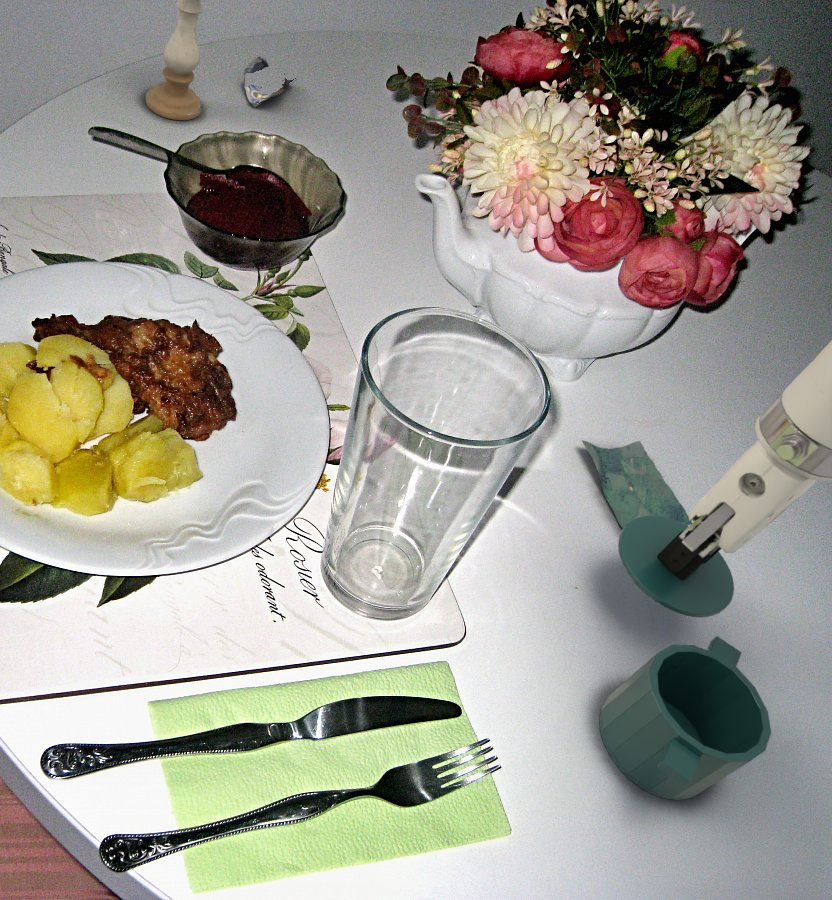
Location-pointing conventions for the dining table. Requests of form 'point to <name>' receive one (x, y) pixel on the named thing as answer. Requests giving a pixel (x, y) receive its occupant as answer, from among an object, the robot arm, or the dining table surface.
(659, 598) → the pot lid
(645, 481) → the green flat curved rectangle
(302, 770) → the dining table surface
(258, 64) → the snack package
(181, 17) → the candle holder
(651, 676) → the pot
